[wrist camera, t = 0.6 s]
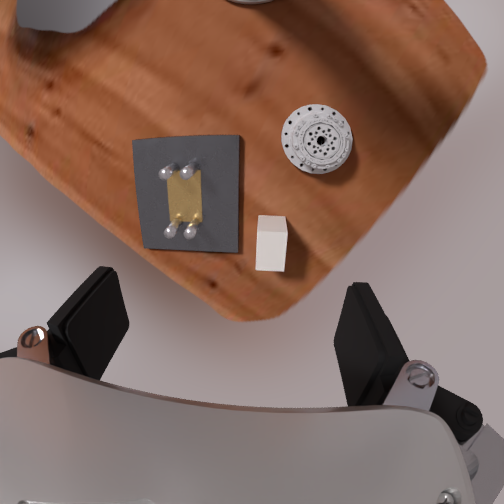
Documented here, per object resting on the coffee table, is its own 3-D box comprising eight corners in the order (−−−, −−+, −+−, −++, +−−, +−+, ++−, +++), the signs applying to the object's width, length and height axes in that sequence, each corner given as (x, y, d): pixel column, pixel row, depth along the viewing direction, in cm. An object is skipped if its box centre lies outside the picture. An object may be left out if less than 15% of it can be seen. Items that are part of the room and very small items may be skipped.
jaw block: (258, 215, 41) (257, 231, 36) (285, 216, 41) (287, 232, 36) (257, 250, 44) (255, 270, 39) (282, 251, 44) (284, 271, 39)
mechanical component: (361, 130, 34) (303, 91, 32) (372, 132, 30) (308, 88, 29) (326, 184, 39) (268, 149, 37) (333, 192, 35) (268, 153, 33)
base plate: (135, 139, 36) (119, 143, 32) (239, 134, 36) (235, 137, 31) (146, 245, 45) (134, 259, 40) (238, 249, 44) (235, 265, 40)
